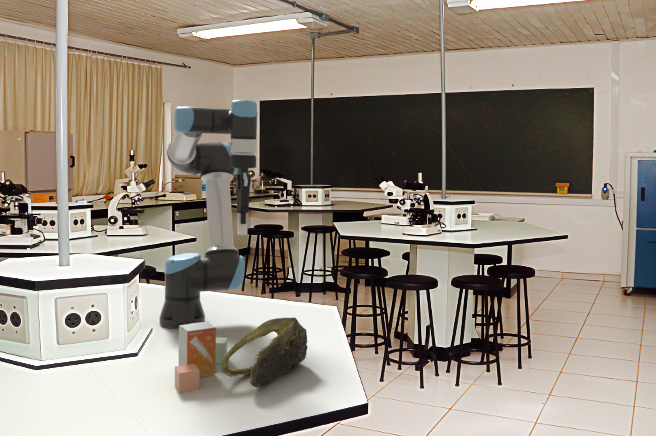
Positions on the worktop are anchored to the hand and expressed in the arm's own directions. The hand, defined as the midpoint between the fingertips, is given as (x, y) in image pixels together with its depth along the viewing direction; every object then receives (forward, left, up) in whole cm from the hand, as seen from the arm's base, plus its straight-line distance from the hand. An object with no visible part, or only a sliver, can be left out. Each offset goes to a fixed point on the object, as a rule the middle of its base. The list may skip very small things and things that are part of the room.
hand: (242, 234), depth 179 cm
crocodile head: (+25, +4, -35) cm, 43 cm away
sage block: (+10, -8, -35) cm, 37 cm away
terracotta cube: (+28, -17, -35) cm, 48 cm away
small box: (+19, -14, -35) cm, 42 cm away
